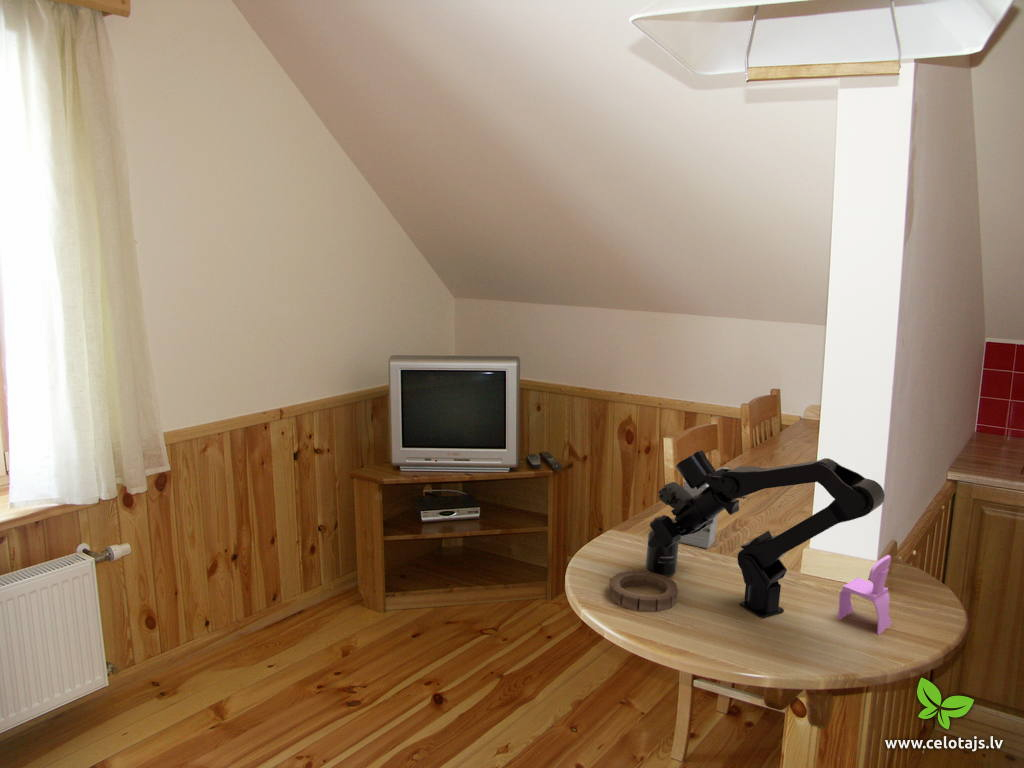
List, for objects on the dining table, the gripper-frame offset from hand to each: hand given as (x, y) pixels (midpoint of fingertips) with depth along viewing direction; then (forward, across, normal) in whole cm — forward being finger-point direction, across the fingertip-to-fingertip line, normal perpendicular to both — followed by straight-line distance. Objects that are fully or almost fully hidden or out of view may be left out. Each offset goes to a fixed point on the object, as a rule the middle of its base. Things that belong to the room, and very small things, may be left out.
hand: (657, 541), depth 185 cm
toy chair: (-24, -10, +36) cm, 44 cm away
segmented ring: (+2, +13, +8) cm, 15 cm away
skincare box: (+7, -23, +4) cm, 24 cm away
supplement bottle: (+4, 0, +6) cm, 7 cm away
